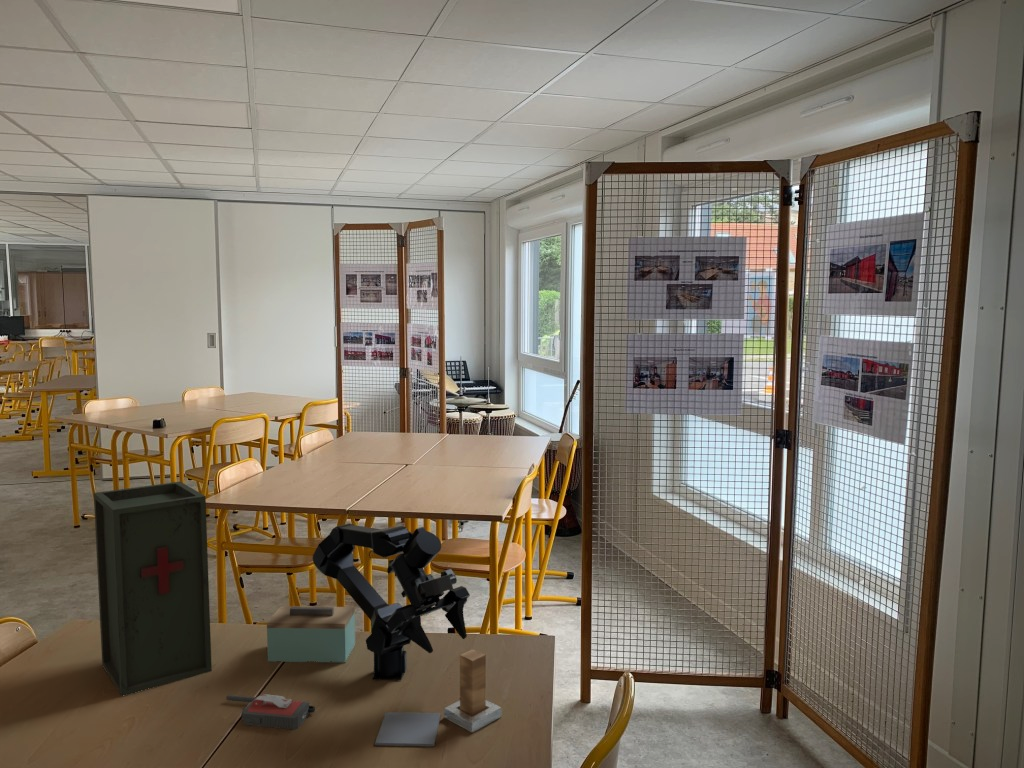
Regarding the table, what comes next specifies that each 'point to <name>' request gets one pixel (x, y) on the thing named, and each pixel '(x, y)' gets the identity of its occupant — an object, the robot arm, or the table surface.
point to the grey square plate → (408, 729)
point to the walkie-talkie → (273, 711)
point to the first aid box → (153, 584)
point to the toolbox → (311, 634)
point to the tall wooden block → (472, 682)
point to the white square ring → (476, 721)
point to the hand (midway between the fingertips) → (448, 645)
